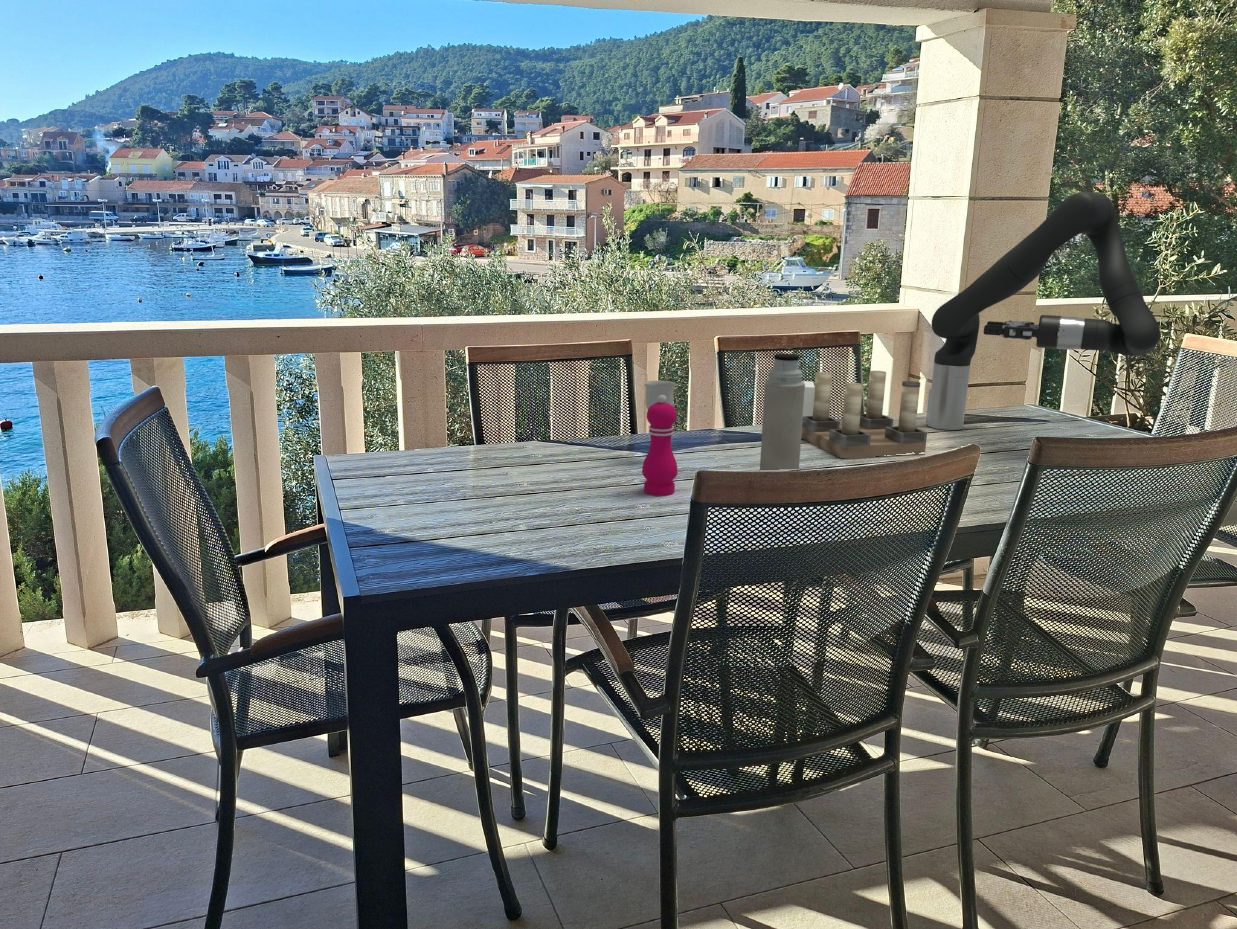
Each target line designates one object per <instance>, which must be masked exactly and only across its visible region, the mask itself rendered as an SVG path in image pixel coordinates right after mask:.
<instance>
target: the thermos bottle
mask: <svg viewBox="0 0 1237 929" xmlns="http://www.w3.org/2000/svg"><path fill="white" fill-rule="evenodd" d="M773 356H774V357H773V359H774V362H773V368H771V369H769V372H768V374H767V376H768V379H767V380H765V381H764V391H763V392H764V394H763V410H762V427H761V442H760V444H761V446H760V460H759V471H760V470H779V469H800V460H801V459H800V458H801V448H802V446H801V445H802V444H801V443H802V438H801V434H802V420H803V406H804V391H805V383H804V382H802V381H803V377H804V375H803V372H802V370H800V368H799V364H800V363H799V360H800V355H798V354H795V353H776V354H774V355H773Z"/></svg>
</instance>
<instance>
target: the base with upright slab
mask: <svg viewBox="0 0 1237 929" xmlns="http://www.w3.org/2000/svg"><path fill="white" fill-rule="evenodd" d="M802 382H804V383H805V391H804V406H803V416H813V405H814V392H815V382H814V381H810V380H809V381H808V380H807V381H806V380H804V381H803V380H802Z"/></svg>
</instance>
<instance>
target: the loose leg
mask: <svg viewBox="0 0 1237 929" xmlns="http://www.w3.org/2000/svg"><path fill="white" fill-rule="evenodd" d="M901 382H902V384H901V385H902V386H901V392H900V393H901V395H900V396H901V397H900V405H899V414H898V415H899V416H898V424H897V425H898V431H899V432H902V433H907V432H915V428H917V427H916V426H917V419H918V418H917V415H918V408H919V407H918V406H919V399H920V398H919V397H920V388H921V382H920V381H914V380H904V381H901Z"/></svg>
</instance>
